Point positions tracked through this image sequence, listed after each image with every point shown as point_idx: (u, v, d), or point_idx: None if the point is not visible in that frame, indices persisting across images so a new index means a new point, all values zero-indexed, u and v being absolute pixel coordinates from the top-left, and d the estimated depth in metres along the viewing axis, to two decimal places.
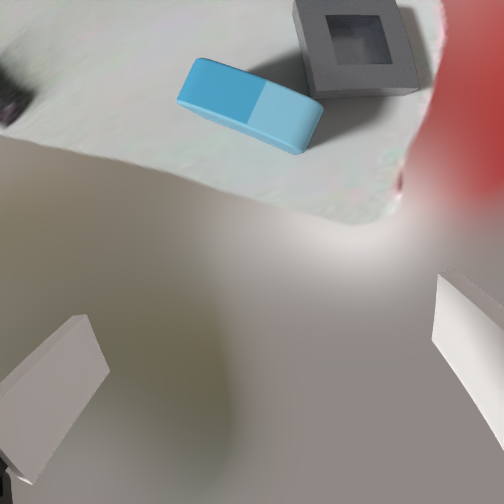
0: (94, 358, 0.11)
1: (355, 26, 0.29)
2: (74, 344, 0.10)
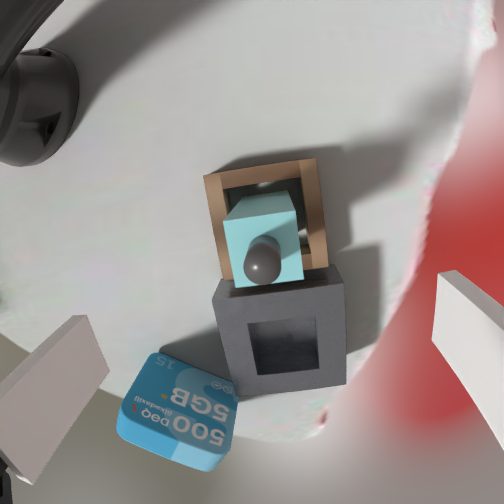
0: (94, 358, 0.11)
1: None
2: (74, 344, 0.10)
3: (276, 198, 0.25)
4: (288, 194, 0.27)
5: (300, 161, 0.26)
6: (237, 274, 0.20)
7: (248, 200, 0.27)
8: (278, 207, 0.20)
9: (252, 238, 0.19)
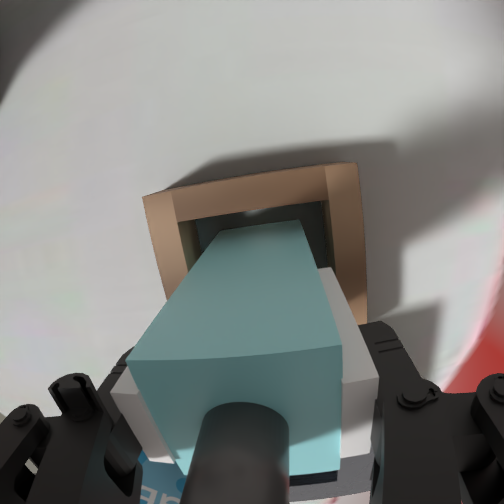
0: None
1: None
2: None
3: (280, 248, 0.12)
4: (303, 234, 0.14)
5: (327, 168, 0.13)
6: (183, 459, 0.07)
7: (225, 246, 0.14)
8: (286, 302, 0.07)
9: (210, 407, 0.06)
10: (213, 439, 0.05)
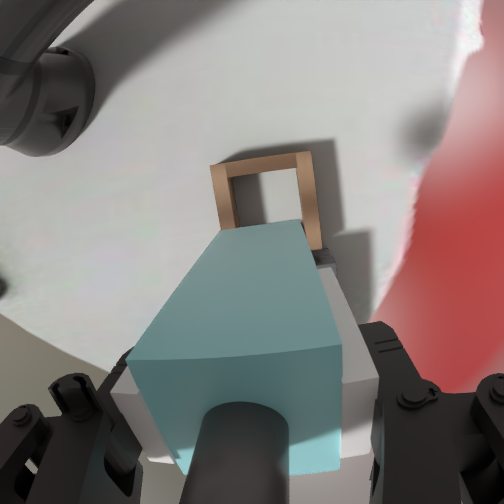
0: None
1: None
2: None
3: (280, 247, 0.12)
4: (303, 234, 0.14)
5: (296, 153, 0.29)
6: (183, 459, 0.07)
7: (225, 246, 0.14)
8: (286, 302, 0.07)
9: (210, 407, 0.06)
10: (213, 439, 0.05)
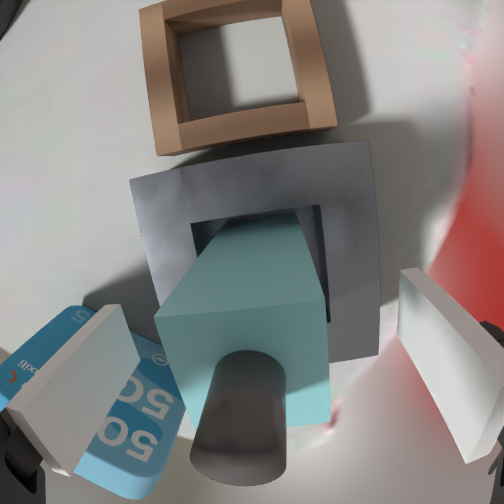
0: (127, 347, 0.11)
1: None
2: (109, 332, 0.10)
3: (278, 235, 0.14)
4: (299, 225, 0.15)
5: None
6: (196, 411, 0.09)
7: (230, 235, 0.16)
8: (282, 273, 0.09)
9: (221, 356, 0.08)
10: (224, 377, 0.07)
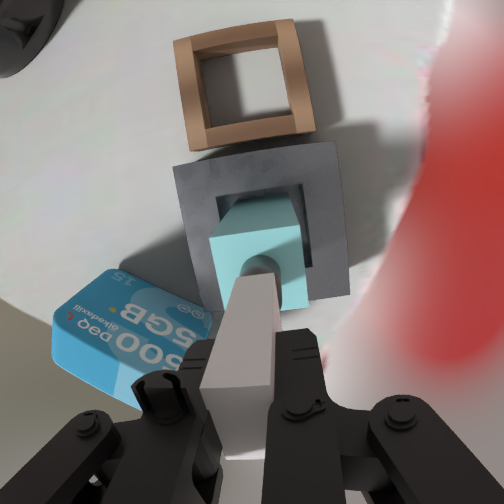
0: None
1: None
2: None
3: (275, 204, 0.21)
4: (289, 198, 0.23)
5: (276, 21, 0.20)
6: None
7: (242, 205, 0.23)
8: (278, 218, 0.17)
9: (245, 259, 0.15)
10: (249, 264, 0.14)
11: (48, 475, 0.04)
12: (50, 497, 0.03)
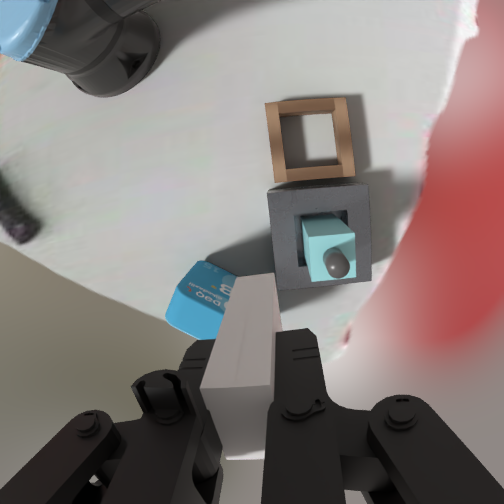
0: None
1: None
2: None
3: (331, 221, 0.35)
4: (338, 218, 0.36)
5: (334, 98, 0.34)
6: (314, 272, 0.29)
7: (309, 220, 0.36)
8: (340, 229, 0.30)
9: (326, 249, 0.29)
10: (330, 251, 0.28)
11: (48, 475, 0.04)
12: (50, 497, 0.03)
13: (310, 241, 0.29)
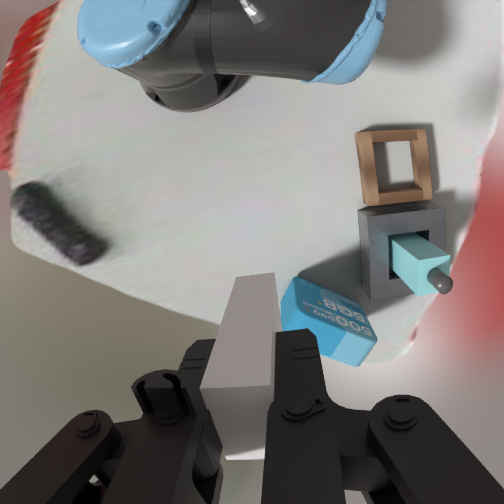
0: None
1: None
2: None
3: (419, 240, 0.37)
4: (420, 236, 0.39)
5: (417, 130, 0.36)
6: (419, 288, 0.32)
7: (399, 240, 0.39)
8: (435, 250, 0.33)
9: (430, 269, 0.31)
10: (435, 271, 0.30)
11: (48, 475, 0.04)
12: (50, 497, 0.03)
13: (419, 263, 0.31)
